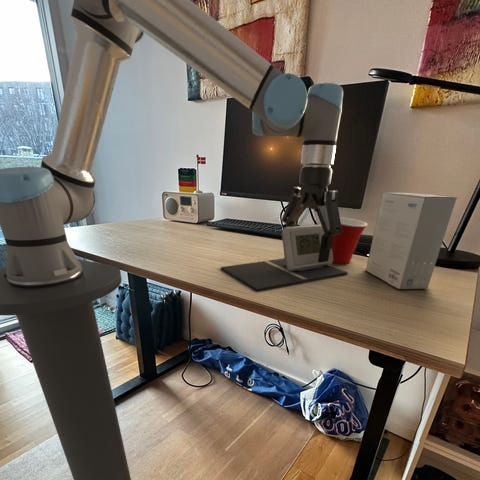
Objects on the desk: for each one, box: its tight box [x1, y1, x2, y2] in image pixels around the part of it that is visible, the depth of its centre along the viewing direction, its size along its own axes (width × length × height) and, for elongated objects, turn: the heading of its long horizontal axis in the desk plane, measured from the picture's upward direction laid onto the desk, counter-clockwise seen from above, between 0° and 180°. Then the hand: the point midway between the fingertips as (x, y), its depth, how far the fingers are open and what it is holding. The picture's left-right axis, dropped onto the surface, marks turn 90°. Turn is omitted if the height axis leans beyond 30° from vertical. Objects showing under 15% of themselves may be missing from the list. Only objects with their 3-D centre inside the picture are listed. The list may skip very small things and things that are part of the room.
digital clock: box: [281, 223, 334, 271], centre depth 79 cm, size 16×9×11 cm, turn 110°
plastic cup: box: [332, 217, 368, 265], centre depth 87 cm, size 11×11×12 cm
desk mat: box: [220, 258, 348, 292], centre depth 79 cm, size 28×18×1 cm, turn 119°
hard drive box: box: [365, 192, 458, 290], centre depth 71 cm, size 16×8×20 cm, turn 8°
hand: (305, 255), depth 81 cm, fingers open, 13 cm apart
